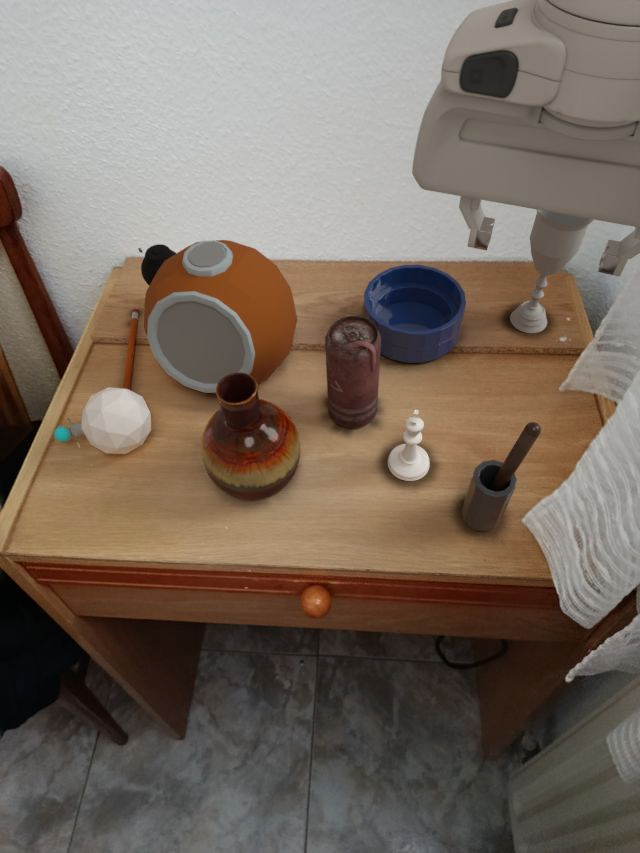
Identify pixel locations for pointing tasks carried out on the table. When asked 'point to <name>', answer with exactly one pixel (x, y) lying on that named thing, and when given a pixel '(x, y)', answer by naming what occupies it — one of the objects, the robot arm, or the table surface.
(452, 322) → the bowl
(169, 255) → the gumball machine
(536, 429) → the stick
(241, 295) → the diving helmet
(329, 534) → the table surface
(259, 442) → the vase
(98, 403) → the perfume bottle
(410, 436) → the chess piece
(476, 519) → the utensil pot
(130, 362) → the pencil
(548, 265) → the chalice
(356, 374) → the can
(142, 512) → the table surface
